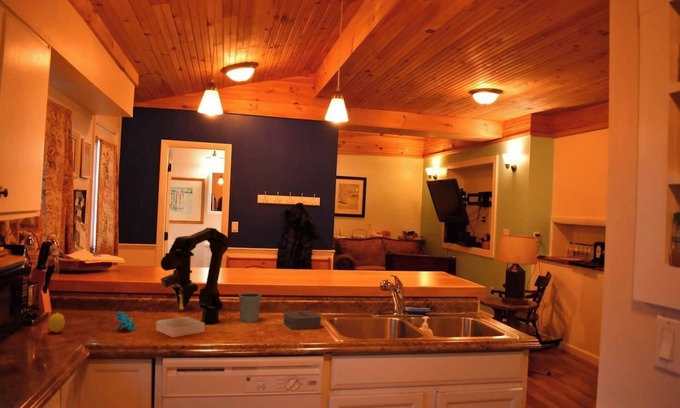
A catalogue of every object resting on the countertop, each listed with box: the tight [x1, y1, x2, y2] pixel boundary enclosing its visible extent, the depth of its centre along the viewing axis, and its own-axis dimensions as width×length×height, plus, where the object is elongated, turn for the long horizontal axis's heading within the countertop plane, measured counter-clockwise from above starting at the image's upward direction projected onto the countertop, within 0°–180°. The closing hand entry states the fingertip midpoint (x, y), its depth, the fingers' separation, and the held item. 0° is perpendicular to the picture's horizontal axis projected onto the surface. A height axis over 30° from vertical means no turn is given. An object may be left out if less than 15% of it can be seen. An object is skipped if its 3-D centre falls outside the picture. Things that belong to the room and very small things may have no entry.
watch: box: [179, 294, 185, 310], centre depth 197 cm, size 6×3×6 cm, turn 15°
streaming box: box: [283, 310, 322, 331], centre depth 218 cm, size 14×14×5 cm
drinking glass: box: [238, 292, 262, 324], centre depth 223 cm, size 10×10×12 cm
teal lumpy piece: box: [115, 311, 137, 332], centre depth 197 cm, size 11×6×10 cm
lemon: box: [47, 312, 66, 334], centre depth 188 cm, size 6×6×8 cm
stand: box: [155, 316, 206, 338], centre depth 199 cm, size 14×14×4 cm
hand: (181, 305), depth 197 cm, fingers closed on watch, 6 cm apart
